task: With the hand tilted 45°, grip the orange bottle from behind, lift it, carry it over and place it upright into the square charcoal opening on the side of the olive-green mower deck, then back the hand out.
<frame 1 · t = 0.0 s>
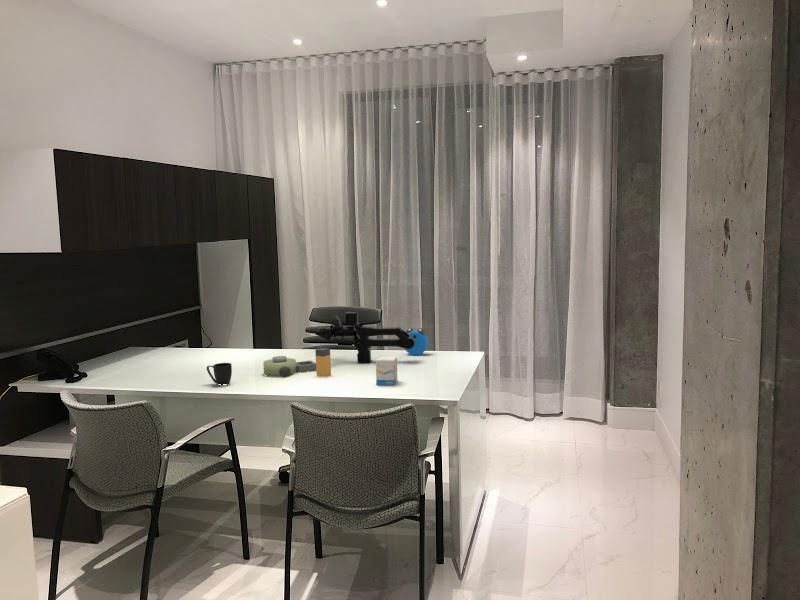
hand: (317, 331, 347), 17 cm above the table, tool horizontal, fingers open, 9 cm apart
alarm clock: (416, 355, 361), on the table
mower deck: (305, 369, 331), on the table
orange bottle: (323, 375, 317), on the table
ink box: (387, 383, 298), on the table
mug: (220, 384, 305), on the table
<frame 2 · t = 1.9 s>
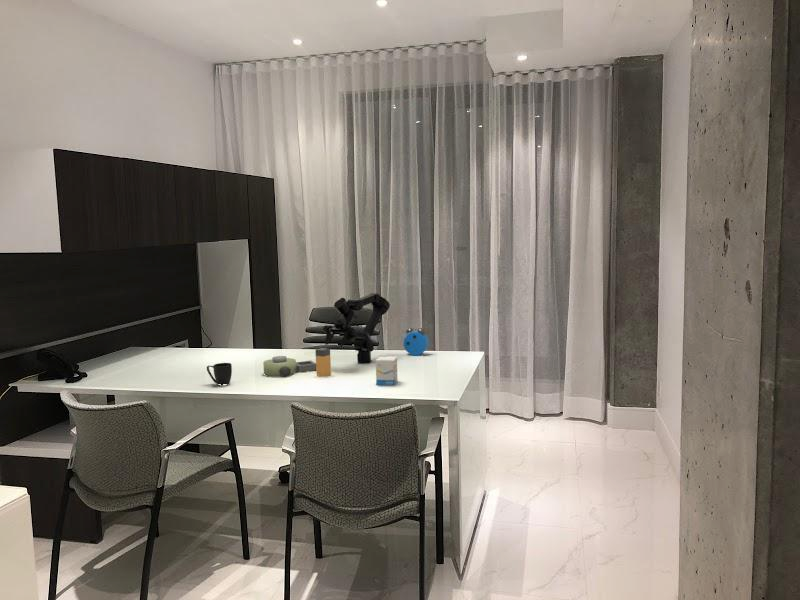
hand: (333, 345, 322), 14 cm above the table, tool tilted 45°, fingers open, 9 cm apart
nothing on the table moved.
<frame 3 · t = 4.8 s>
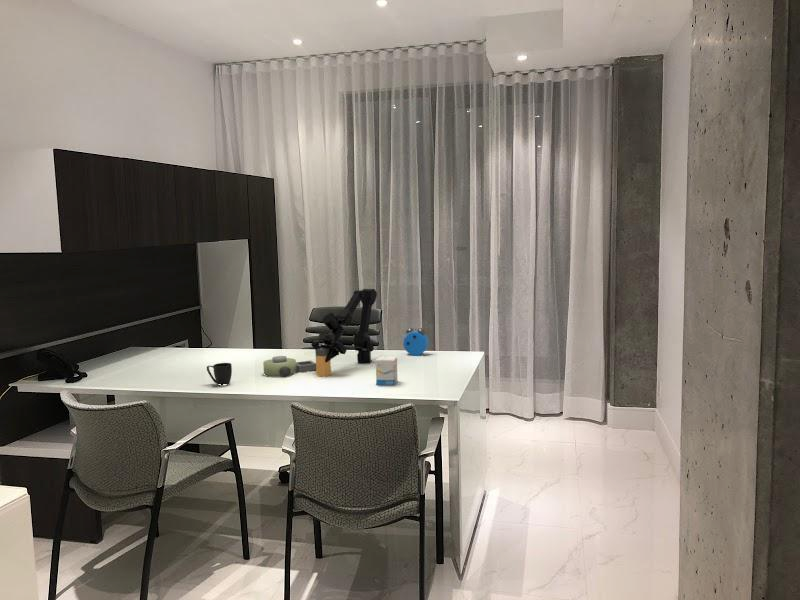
hand: (321, 361, 315), 7 cm above the table, tool tilted 45°, fingers closed on orange bottle, 5 cm apart
orange bottle: (323, 375, 317), on the table, touching gripper
everything else where it was.
when the fingers open (8 cm above the table, at t = 8.9 s): orange bottle drops 1 cm, resting in mower deck.
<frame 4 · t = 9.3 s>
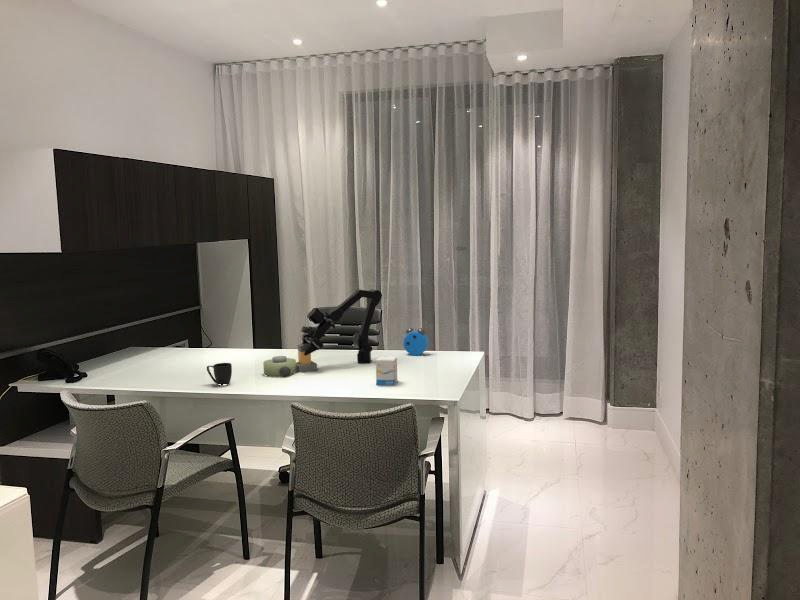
hand: (301, 353, 329), 9 cm above the table, tool tilted 45°, fingers open, 9 cm apart
orange bottle: (305, 369, 331), resting in mower deck
everything else where it was.
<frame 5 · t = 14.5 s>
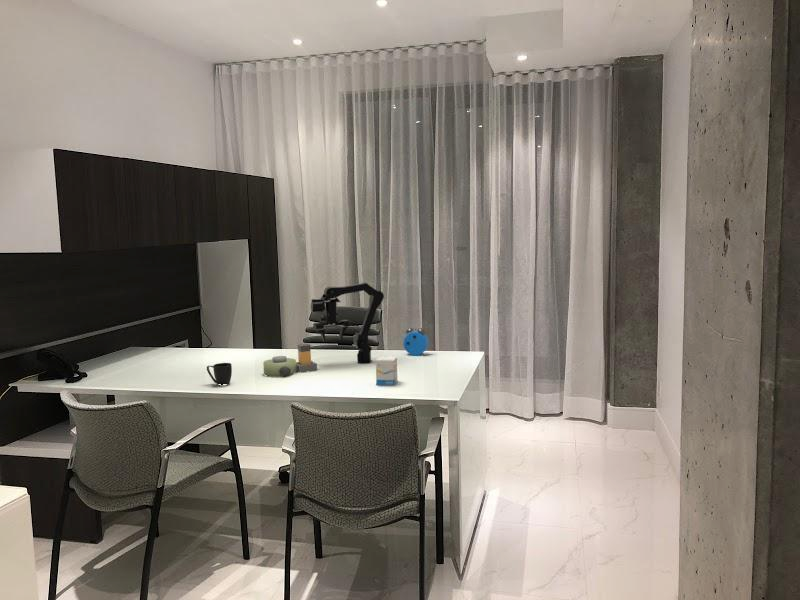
hand: (332, 340, 338), 13 cm above the table, tool pointing down, fingers open, 9 cm apart
nothing on the table moved.
at the end: orange bottle 0.0 cm off-centre on the mower deck, point 0.0 cm above the mower deck's base; orange bottle tilted 0°; the gripper is holding nothing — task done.
